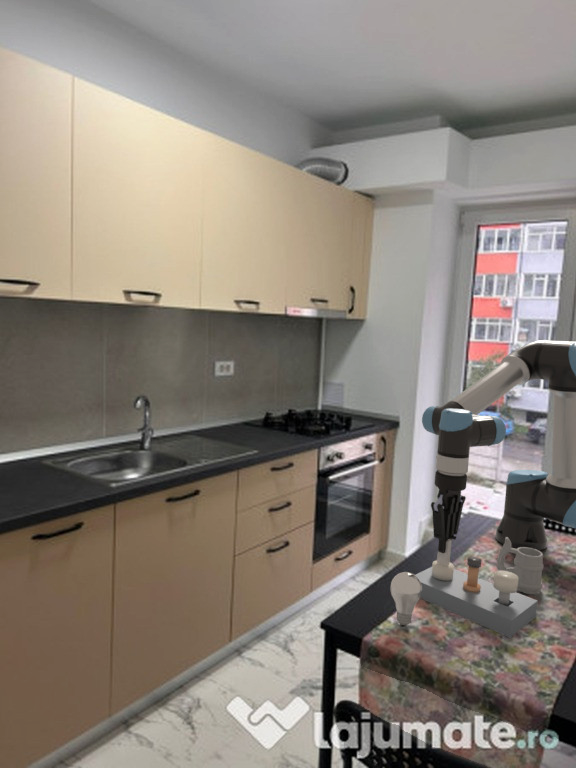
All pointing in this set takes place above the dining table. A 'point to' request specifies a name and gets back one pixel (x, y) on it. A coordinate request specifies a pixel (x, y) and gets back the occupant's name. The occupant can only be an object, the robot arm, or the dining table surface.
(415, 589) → the light bulb
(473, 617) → the panel
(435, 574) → the knob
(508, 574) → the knob
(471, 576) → the ball
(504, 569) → the mug
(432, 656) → the dining table surface
